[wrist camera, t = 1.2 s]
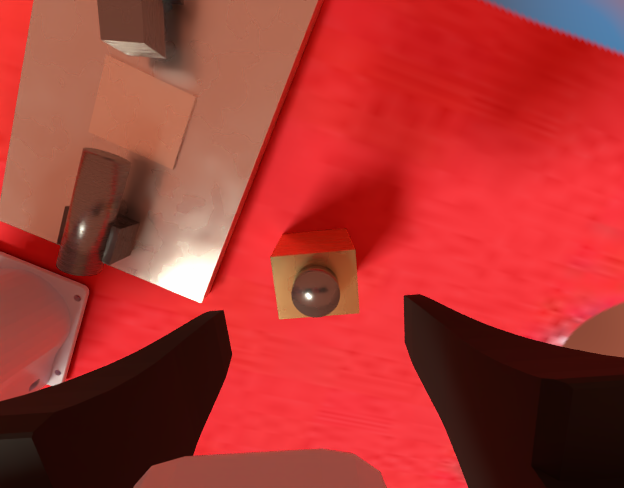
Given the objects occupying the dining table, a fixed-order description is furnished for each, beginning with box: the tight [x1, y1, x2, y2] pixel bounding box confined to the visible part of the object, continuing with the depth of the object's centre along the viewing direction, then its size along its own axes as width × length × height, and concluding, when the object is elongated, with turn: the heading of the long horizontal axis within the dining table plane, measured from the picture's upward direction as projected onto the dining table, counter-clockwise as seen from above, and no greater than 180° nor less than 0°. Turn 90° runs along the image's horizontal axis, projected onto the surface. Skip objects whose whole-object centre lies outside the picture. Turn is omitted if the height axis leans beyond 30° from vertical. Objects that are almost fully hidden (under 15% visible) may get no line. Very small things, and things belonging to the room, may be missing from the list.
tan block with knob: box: [270, 228, 359, 319], centre depth 18 cm, size 4×4×7 cm
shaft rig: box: [0, 0, 323, 303], centre depth 16 cm, size 20×14×5 cm
